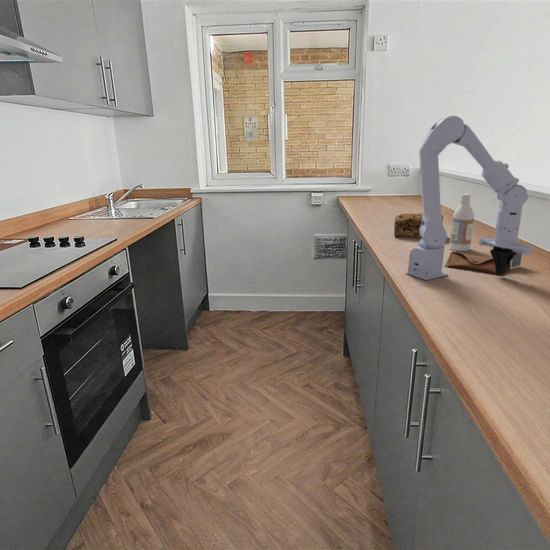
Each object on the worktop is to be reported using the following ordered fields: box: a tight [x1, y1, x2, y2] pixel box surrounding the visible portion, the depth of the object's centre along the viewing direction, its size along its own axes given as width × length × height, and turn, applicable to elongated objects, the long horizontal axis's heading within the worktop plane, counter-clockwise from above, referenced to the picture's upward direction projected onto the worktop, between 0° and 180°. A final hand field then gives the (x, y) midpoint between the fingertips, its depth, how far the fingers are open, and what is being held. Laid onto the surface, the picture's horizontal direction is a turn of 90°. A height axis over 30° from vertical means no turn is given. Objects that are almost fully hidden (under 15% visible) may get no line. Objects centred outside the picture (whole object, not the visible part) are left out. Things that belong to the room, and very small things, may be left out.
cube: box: [510, 252, 524, 270], centre depth 128 cm, size 6×6×6 cm
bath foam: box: [448, 193, 475, 252], centre depth 147 cm, size 7×7×20 cm
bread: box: [393, 212, 444, 240], centre depth 169 cm, size 19×11×10 cm, turn 68°
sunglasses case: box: [443, 251, 511, 277], centre depth 127 cm, size 18×7×7 cm
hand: (500, 273), depth 118 cm, fingers closed
